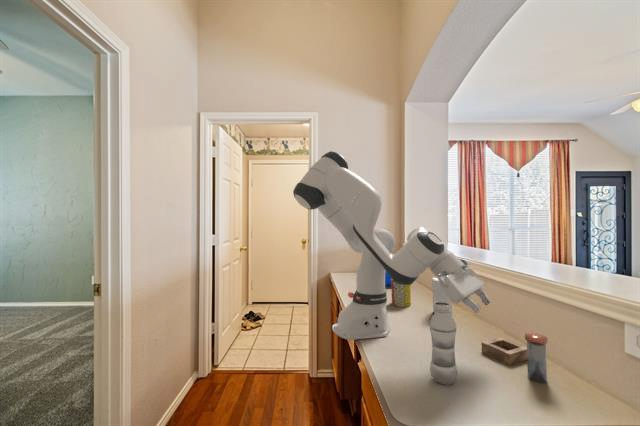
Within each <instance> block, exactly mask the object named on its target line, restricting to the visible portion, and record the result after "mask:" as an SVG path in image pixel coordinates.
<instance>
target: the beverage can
mask: <svg viewBox="0 0 640 426" xmlns="http://www.w3.org/2000/svg"><path fill="white" fill-rule="evenodd" d="M390 287H391V305H393V306H395V307H398V308H407V307H410V306H412V299H411V297H412V296H411V295H412V294H411V285H400V284H397V283H396V282H394V281H393V280H392V279H391V286H390Z"/></svg>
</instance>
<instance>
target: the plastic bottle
mask: <svg viewBox="0 0 640 426" xmlns="http://www.w3.org/2000/svg"><path fill="white" fill-rule="evenodd" d="M434 310H435V311H436V313H434V314H433V315H432V316H431V317H430V320H429V330H430V336H431V348H432V349H431V360H430V363H429V365H430V366H429V373H430V376H431V378H432V379H433V380H434V381H435V383H438V384H441V385H446V386H447V385H448V386H449V385H453V384H454V383H456V381H457V379H458V374H459V373H458V367H457V364H456V363H457V362H456V353H455V351H456V349H455V348H456V347H455V346H456V345H455V344H456V335H457V326H458V325H457V322H456V320H455V318H454V316H453V315H452V316H451V315H450V312H451V311H450V304H448V303H445V302H436V303H435V308H434Z"/></svg>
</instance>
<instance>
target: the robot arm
mask: <svg viewBox="0 0 640 426" xmlns="http://www.w3.org/2000/svg"><path fill="white" fill-rule="evenodd" d="M348 165H349V164H348V162H347V160H346V159H345V157H344V156H343V155H341V154H340V153H338V152H335V151H332V150H331V151H328V152H326V153H324V154H323V155H322V156H321V157H320V158H319V159H318V160H317V161H315V163H313V164H312V166H311V167H310V168H309V169H308V171H307V172H306V173H305V174H304V176H303V177H302V178H301V180H300V181H298V182H297V184H296V185H295V187H294V188H293V191H292V192H293V196H294V198H295V200H296V202H297V203H298V204H299V205H300V206H302V207H303V208H305V209H306V210H309V211H311V210H318V211H319V212H320V213H321V214H322V215H323V216H324V218H325V219H326V220H328V221H329V222H330V223H331V225H332V226H333V227H334V228H336V230H338V232H339V233H340V234H341V235H342V237H343V239H344V240H345V241H346V242H347V244H348V246H349V247H350V249H352V250H353V251H354V252H356V253H357V254H360V255H361V259H360V262H359V266H358V267H357V269H356V272H355V276H356V277H355V278H356V279H355V280H356V289H355V292H354V293H353V292H351V291H348V293H347V296H348V297H349V298H350V299H352V301H351V302H350V303H349V304H347V306H345V307H344V308H343V309H342V310H341V311H340V312H339V313H338V318H337V323H334V324H332V327H331V329H332V331H333V333H334V334H335V335H336V336H338V337H340V338H342V339H344V340H347V341H353V340H363V339H372V338H384V337H387V336H388V335H389V334H388V333H389V332H390V330H391V325H390V322H389V317H388V312H387V297H388V295H387V290H386V286H385V270H386V272H387V273H388V275H389V276H390V277H391V278H392V280H393V281H394V282H396V283H397V284H400V285H410V286H411V285H413V283H414V282H415V281H416V280H417V279H418V278H420V277H419V276H421V275H422V274H423V273H424V272H425V271H426V270H427V269H428V268H429V269H430V272H431V273H432V274H433V275H434V276H435V278H438V280H439V281H440V286H441V287H442V289H443V290H444V291H445V293H446V294H447V295H448V296H449V298H450V299H451V302H453V303H455V304H459V303H460V302H462V303H463V304H464V305H466V306H467V307H468V308H470V309H471V310H472V311H473V312H474V313H475V314H478V313H479V312H480V311H481V310H483V309H482V307H481V306H480V304H479V303H476V302H475V301H474V300H473V299H472V297H471V296H472V295H476V296H477V297H479V299H480V300H481V302H482V303H483V305H485V306H488V305H489V304H491V303H492V300H491V299H490V297H488V295H487V293H486V292H485V291H484V289H483V288H484V287H485V283H484V281H483V280H482V278H481V277H480V276H479V274H477V273H476V272H475V271H474V269H472V268H471V267H470V266H469V265H470V263H469V262H467V260H465V259H462V258H459V257H457V256H456V255H455V254H454V253H453V252H452V251H450V250H449V249H448V248H447V247H446V245H445V243H444V242H443V241H442V240H441V239H440V238H439V237H438V236H437V235H436V233H434V232H431V231H430V230H429V229H427V228H426V227H422V226H420V227H416V228H415V229H413V230H411V232H410V233H409V234H408V235H407V237H406V240H407V241H406V242H405V243H404V245H403V246H402V247H401V248H400V249H399V250H397V252H396V253H394V251H395V249H396V245H397V243H396V242H397V241H396V238H395V236H394V234H393V233H392V232H390V231H388V230H386V229H385V228H381V227H376V224H377V222H378V220H379V216H380V215H381V214H380V213H381V210H382V204H383V203H382V197H381V195H380V193H379V192H378V191H377V189H375V188H374V187H373V186H372V185H371V184H370V183H368V182H367V181H366V180H365V179H363V178H362V176H361V177H360V176H359V175H358V174H356V173H355V172H353V171H351V170H350V169H349V166H348Z"/></svg>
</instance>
